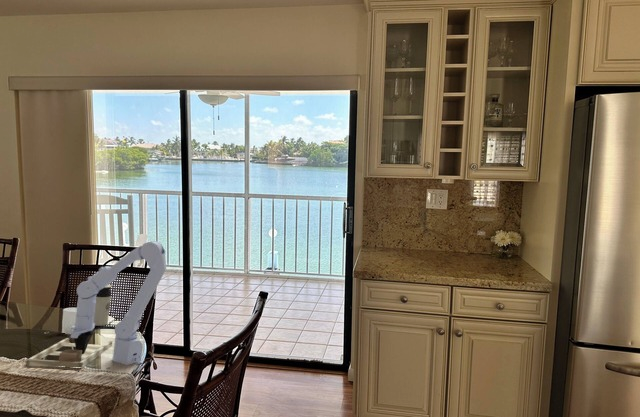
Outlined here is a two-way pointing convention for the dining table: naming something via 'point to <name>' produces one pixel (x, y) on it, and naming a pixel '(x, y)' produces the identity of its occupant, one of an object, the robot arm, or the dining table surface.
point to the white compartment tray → (86, 358)
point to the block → (71, 355)
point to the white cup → (68, 320)
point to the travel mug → (102, 306)
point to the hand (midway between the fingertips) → (80, 353)
